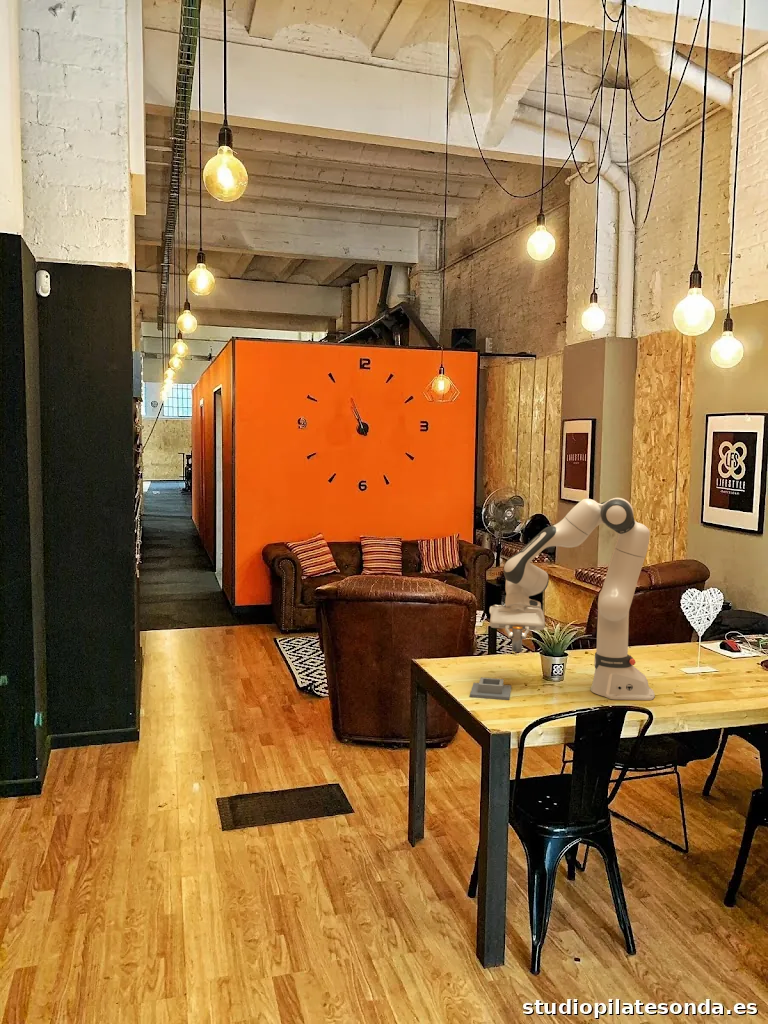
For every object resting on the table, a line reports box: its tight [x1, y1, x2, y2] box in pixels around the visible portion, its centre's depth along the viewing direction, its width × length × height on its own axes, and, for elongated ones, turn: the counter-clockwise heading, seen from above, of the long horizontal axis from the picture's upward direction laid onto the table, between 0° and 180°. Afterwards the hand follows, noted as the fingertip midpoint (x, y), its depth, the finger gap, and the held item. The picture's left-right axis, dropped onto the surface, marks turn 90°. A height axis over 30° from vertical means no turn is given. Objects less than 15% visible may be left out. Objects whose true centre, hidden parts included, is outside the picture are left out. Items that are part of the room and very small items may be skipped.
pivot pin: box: [511, 626, 524, 653], centre depth 285 cm, size 4×4×9 cm
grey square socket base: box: [469, 677, 512, 701], centre depth 283 cm, size 14×14×4 cm
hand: (517, 637), depth 284 cm, fingers closed on pivot pin, 4 cm apart
